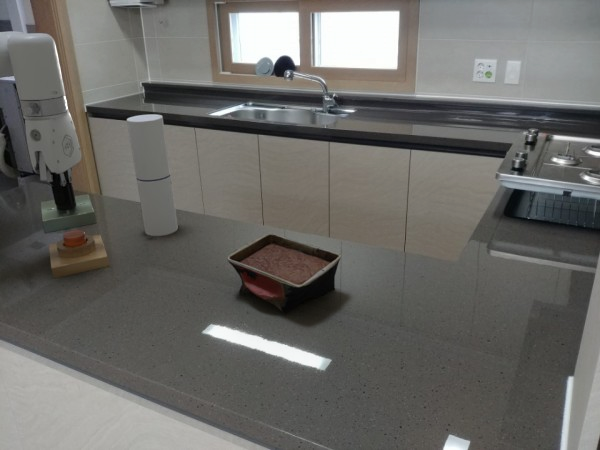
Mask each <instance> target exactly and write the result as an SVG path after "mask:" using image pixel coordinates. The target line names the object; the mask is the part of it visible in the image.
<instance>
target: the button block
mask: <svg viewBox="0 0 600 450" xmlns="http://www.w3.org/2000/svg"><path fill="white" fill-rule="evenodd" d="M85 237H86V243H85V244H82V245H80V246H75V247H66V246H65V244H64V240H63V238H62V239H60V240H59V241H58V242H54V243H49V244H48V250H49V259H50V260H49V261H50V268H51V273H52V277H53V279H57V278H61V277H66V276H67V277H68V276H72V275H76V274H81V273H85V272H89V271H94V270H98V269H103V268H107V267H108V268H109V267H110V262H109V258H108V257H109V256H108V254H107V251H106V248H105V244H104V241H103V239H102V236H101V234H100V233H99V234H95V235H91V234H85Z"/></svg>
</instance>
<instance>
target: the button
mask: <svg viewBox="0 0 600 450" xmlns="http://www.w3.org/2000/svg"><path fill="white" fill-rule="evenodd" d="M85 235H86V232H85V231H84V230H81V229H80V230H79V229H76V230H71V231H68V232H65V233H64V234H63V235H62V239H63V240H64V244H65V246H66V247H75V246H80V245H82V244H85V243H86V237H85Z"/></svg>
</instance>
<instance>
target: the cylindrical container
mask: <svg viewBox="0 0 600 450" xmlns="http://www.w3.org/2000/svg"><path fill="white" fill-rule="evenodd" d="M126 124H127V130H128V136H129V142H130V148H131V154H132V160H133V167H134V173H135V179H136V184H137V185H136V186H137V190H138V197H139V202H140V209H141V216H142V221H143V226H144V233H145V234H146V235H147V236H151V237H161V236H168V235H170V234H173V233H176V232H177V231H178V229H179V226H178V218H177V211H176V204H175V198H174V190H173V189H174V188H173V183H172V182H173V181H172V175H171V167H170V160H169V152H168V146H167V145H168V144H167V139H166V131H165V125H164V117H163V115H161V114H156V113H155V114H154V113H153V114H140V115H134V116H130V117H128V118H126Z"/></svg>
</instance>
